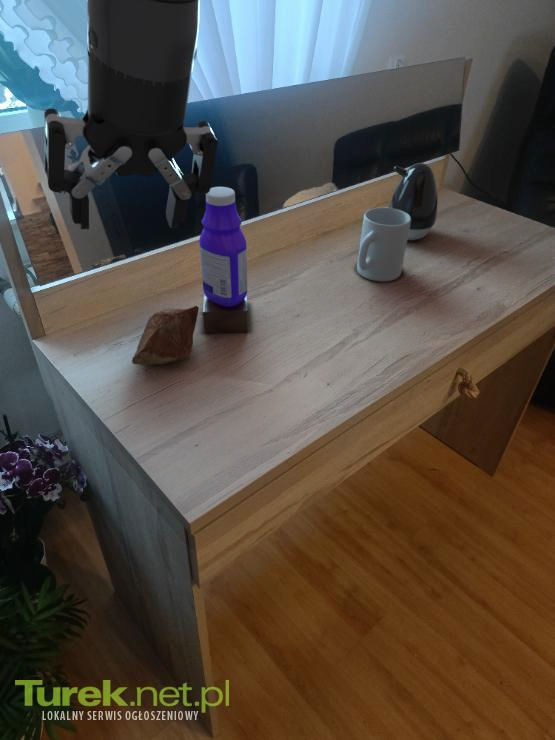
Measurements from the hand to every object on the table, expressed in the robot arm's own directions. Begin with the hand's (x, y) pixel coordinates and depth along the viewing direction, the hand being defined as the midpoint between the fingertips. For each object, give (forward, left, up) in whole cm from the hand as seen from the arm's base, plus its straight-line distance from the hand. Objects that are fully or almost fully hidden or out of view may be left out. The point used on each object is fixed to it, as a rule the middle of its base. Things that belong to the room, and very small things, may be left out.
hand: (128, 223), depth 49 cm
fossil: (-1, +13, -26) cm, 29 cm away
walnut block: (+8, +22, -26) cm, 35 cm away
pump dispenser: (+47, +53, -26) cm, 75 cm away
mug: (+36, +36, -26) cm, 57 cm away
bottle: (+8, +22, -22) cm, 32 cm away
